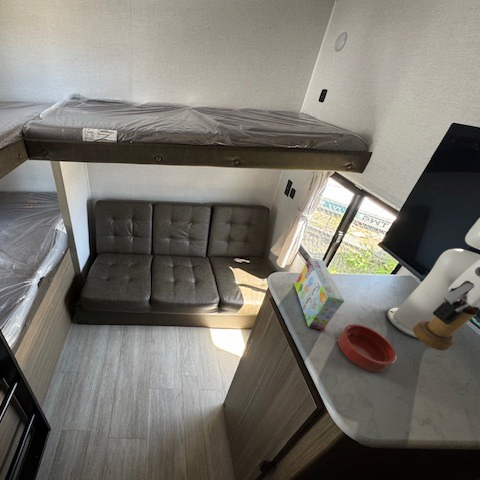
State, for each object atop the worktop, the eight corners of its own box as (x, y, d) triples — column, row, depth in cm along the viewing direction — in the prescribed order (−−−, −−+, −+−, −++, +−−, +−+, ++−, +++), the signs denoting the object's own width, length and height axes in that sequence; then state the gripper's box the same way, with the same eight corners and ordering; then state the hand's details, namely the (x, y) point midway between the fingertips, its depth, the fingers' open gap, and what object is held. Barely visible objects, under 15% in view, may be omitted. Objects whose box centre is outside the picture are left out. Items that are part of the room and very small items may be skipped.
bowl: (361, 331, 87) (369, 322, 84) (397, 369, 76) (407, 360, 73) (327, 336, 84) (334, 326, 82) (360, 376, 74) (369, 367, 71)
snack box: (324, 331, 86) (345, 301, 77) (307, 327, 87) (326, 297, 78) (307, 287, 103) (323, 258, 95) (293, 284, 104) (307, 256, 95)
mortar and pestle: (456, 350, 58) (525, 296, 47) (430, 351, 57) (495, 298, 47) (428, 325, 63) (485, 272, 53) (405, 326, 63) (457, 273, 52)
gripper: (512, 272, 41) (437, 337, 52) (582, 262, 44) (497, 326, 55) (460, 245, 47) (402, 308, 58) (525, 238, 50) (458, 300, 61)
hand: (449, 317), depth 56 cm, fingers closed on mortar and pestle, 3 cm apart
